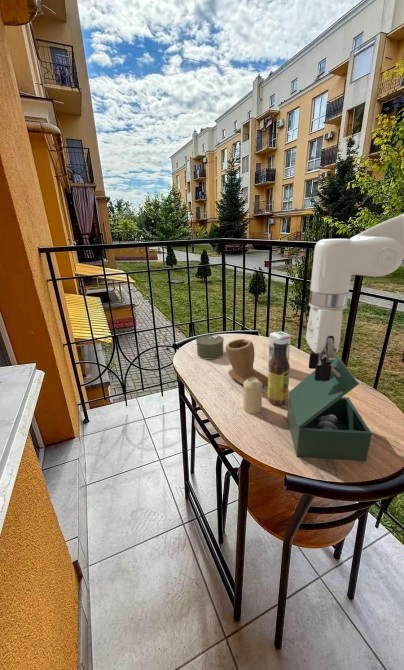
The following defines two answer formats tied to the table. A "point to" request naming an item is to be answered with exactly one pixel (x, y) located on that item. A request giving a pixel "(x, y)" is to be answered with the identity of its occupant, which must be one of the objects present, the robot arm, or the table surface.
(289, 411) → the chest
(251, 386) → the candle
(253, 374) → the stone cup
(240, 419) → the table surface
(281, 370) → the sauce bottle
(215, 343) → the can
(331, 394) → the lid
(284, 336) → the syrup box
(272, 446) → the table surface
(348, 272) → the robot arm
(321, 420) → the seashell
